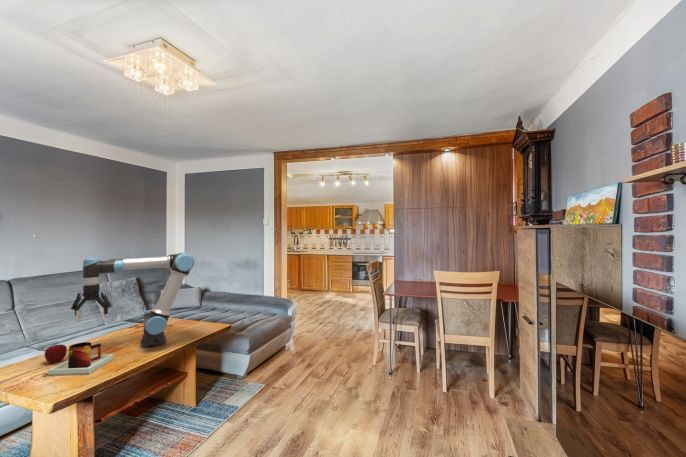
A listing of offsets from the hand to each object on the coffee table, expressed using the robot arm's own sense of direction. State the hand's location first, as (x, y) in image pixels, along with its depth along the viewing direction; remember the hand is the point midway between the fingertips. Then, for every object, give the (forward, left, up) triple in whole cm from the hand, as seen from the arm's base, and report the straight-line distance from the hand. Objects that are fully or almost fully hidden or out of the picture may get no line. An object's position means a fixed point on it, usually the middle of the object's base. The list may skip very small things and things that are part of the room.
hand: (91, 320), depth 181 cm
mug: (-2, +9, -23) cm, 25 cm away
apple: (+19, 0, -24) cm, 30 cm away
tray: (-2, +9, -24) cm, 25 cm away
